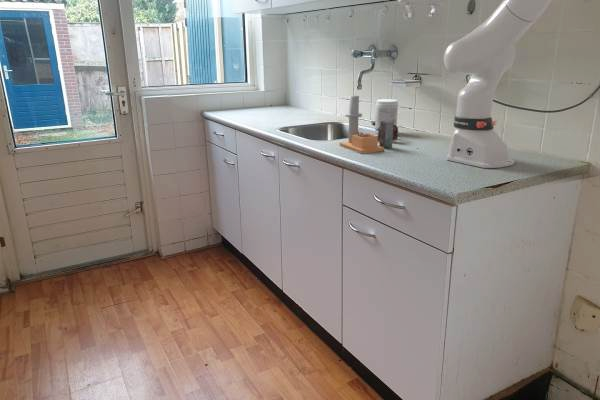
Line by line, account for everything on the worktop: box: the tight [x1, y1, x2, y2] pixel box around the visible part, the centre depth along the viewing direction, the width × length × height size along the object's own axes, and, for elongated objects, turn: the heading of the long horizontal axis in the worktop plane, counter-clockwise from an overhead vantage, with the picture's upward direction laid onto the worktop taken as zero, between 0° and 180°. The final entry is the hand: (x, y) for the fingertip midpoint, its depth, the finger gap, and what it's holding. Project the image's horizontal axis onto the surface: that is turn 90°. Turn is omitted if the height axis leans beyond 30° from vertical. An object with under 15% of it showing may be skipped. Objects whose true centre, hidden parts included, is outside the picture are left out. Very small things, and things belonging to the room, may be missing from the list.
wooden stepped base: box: [339, 95, 385, 154], centre depth 170 cm, size 17×10×19 cm, turn 24°
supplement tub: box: [374, 98, 399, 135], centre depth 200 cm, size 10×10×15 cm
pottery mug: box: [377, 125, 399, 142], centre depth 186 cm, size 12×10×8 cm
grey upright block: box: [378, 121, 394, 150], centre depth 172 cm, size 4×4×10 cm
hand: (421, 17), depth 167 cm, fingers open, 8 cm apart
